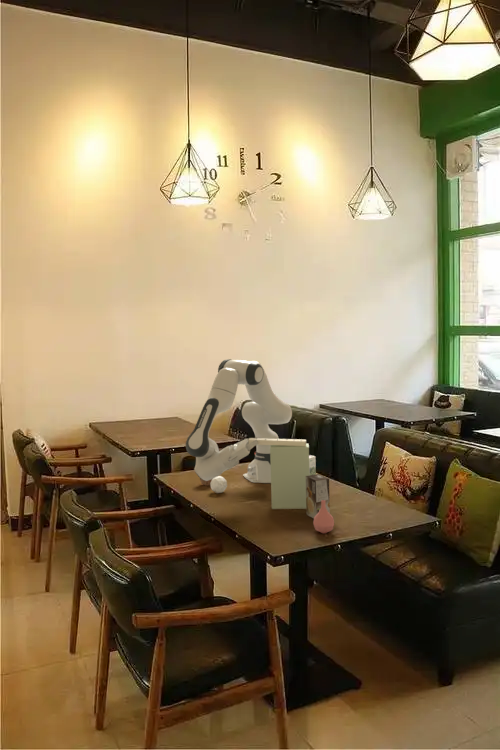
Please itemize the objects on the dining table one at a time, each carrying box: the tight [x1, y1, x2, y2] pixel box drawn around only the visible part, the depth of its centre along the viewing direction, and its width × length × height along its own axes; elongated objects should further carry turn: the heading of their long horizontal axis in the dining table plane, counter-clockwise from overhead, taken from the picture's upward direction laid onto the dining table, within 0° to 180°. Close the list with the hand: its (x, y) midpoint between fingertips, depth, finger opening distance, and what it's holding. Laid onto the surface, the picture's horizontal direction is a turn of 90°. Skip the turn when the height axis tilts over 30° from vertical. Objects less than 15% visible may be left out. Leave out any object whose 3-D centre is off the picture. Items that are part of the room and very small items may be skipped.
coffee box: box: [305, 473, 331, 519], centre depth 261 cm, size 9×6×16 cm
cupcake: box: [199, 478, 212, 486], centre depth 316 cm, size 9×9×10 cm
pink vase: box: [312, 500, 335, 534], centre depth 241 cm, size 8×8×12 cm
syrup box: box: [309, 454, 317, 476], centre depth 307 cm, size 6×6×14 cm
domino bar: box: [248, 437, 307, 446], centre depth 275 cm, size 24×4×2 cm, turn 86°
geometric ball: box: [209, 475, 228, 494], centre depth 301 cm, size 8×8×8 cm
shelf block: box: [270, 442, 310, 510], centre depth 276 cm, size 16×8×26 cm, turn 86°
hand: (257, 440), depth 276 cm, fingers closed on domino bar, 4 cm apart
